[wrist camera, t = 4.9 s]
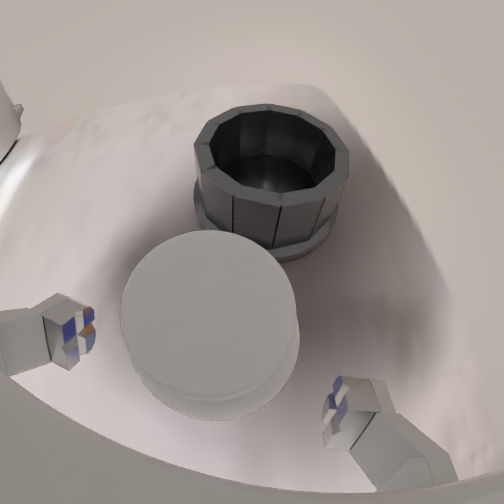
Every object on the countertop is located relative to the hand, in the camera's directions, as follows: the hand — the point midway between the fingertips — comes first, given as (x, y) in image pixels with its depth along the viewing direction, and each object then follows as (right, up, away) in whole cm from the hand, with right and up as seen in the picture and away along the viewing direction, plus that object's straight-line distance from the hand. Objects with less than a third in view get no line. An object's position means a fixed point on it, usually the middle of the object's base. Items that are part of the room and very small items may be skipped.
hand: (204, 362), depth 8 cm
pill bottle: (0, -3, +6) cm, 7 cm away
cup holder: (+2, +7, +11) cm, 14 cm away
